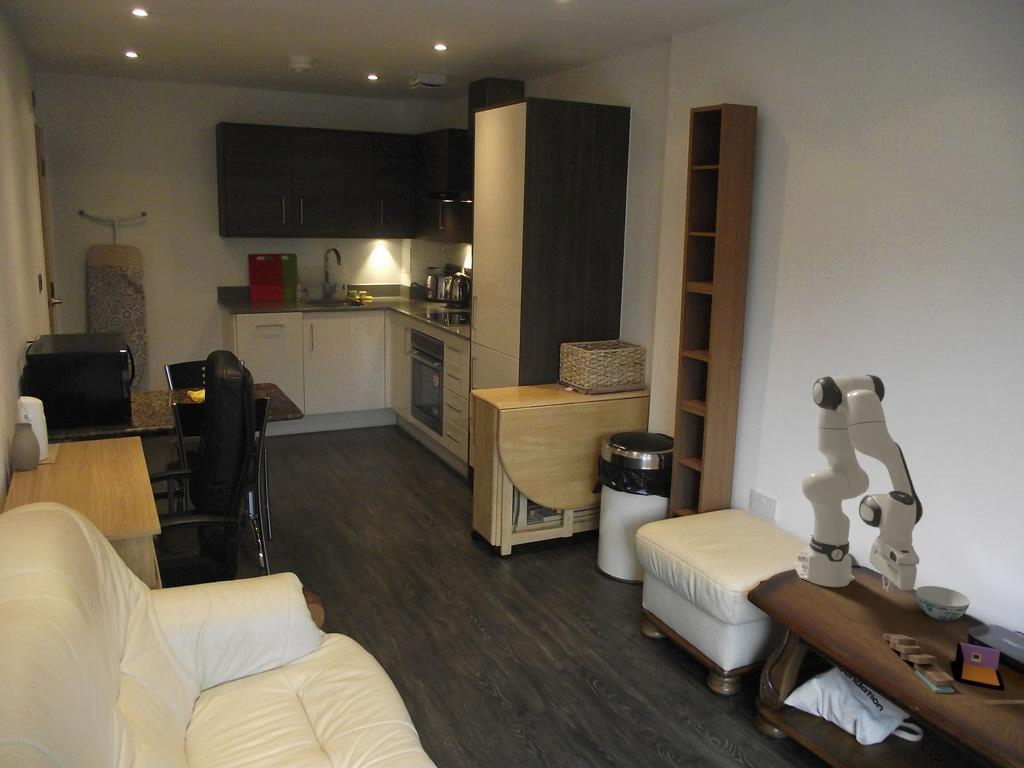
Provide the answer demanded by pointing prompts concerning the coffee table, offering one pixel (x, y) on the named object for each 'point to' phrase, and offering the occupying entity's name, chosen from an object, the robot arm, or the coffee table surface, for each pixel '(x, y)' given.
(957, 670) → the miniature room corner
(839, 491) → the robot arm
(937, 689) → the domino
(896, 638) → the domino
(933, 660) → the domino
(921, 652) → the domino
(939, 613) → the chinaware
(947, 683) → the domino
